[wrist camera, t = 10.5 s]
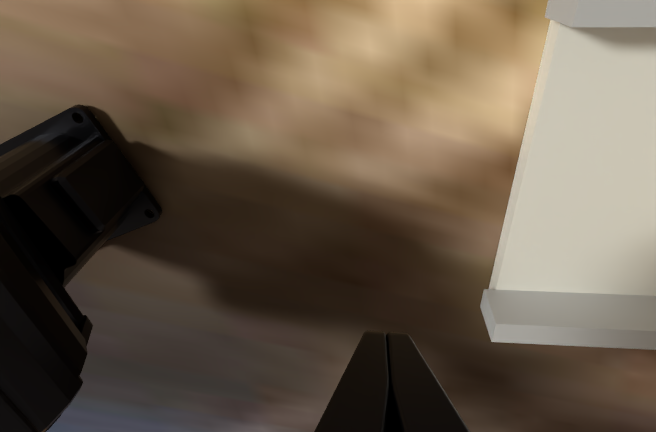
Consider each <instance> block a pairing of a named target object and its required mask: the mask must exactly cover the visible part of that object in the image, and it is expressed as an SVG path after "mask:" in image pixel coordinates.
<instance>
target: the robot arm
mask: <svg viewBox="0 0 656 432" xmlns="http://www.w3.org/2000/svg"><path fill="white" fill-rule="evenodd" d="M77 113H79V114H80V115H81V116H82V117H83V120H81V119H79V118H78V116H77ZM148 209H149V210H152V211H153V212H154V214H152V213H150V212H149V211H148ZM161 214H162V209H161V207H160V206H159V204H158V203H157V201H156V200H155V199H154V197H153V196H152V195H151V193H150V192H149V190H148V189H147V188H146V186H145V185H144V183H143V181H142V180H141V179H140V177H139V176H138V175H137V173H136V172H135V170H134V169H133V168H132V166H131V165H130V164H129V162H128V161H127V159H126V158H125V157H124V155H123V154H122V153H121V151H120V150H119V149H118V147H117V146H116V144H115V143H114V142H113V141H112V140H111V138H110V137H109V136H108V134H107V133H106V132H105V130H104V129H103V128H102V126H101V125H100V123H99V122H98V121H97V119H96V118H95V117H94V115H93V114H92V112H91V111H90V110H89V109H88V108H87V107H85V106H83V105H75V106H73V107H71V108H69V109H67V110H65V111H63V112H62V113H60V114H58V115H56V116H54V117H52V118H50V119H48V120H46V121H44V122H42V123H41V124H39V125H37V126H35V127H33V128H31V129H29V130H27V131H25V132H23V133H21V134H20V135H18V136H16V137H14V138H12V139H10V140H8V141H6V142H4V143H2V144H0V432H46V431H47V430H48V429H49V428H50V427H51V426H52V425H53V424H54V423H55V421H56V420H57V419H58V418H59V417H60V416H61V414H62V412H63V411H64V410H65V409H66V408H67V407H68V406H69V405H70V403H71V402H72V400H73V399H74V398H75V396H76V395H77V393H78V392H79V390H80V388H81V386H82V383H83V381H82V379H81V377H80V376H79V375H80V373H81V371H82V368H83V365H84V362H85V359H86V356H87V348H86V346H87V343H88V340H89V337H90V333H91V330H92V327H93V325H92V323H91V322H90V320H89V319H88V317H87V316H86V315H82V313H81V312H80V310H79V309H78V307H77V306H76V304H75V303H74V302H73V300H72V299H71V297H70V296H69V294H68V293H67V291H66V290H65V288H64V287H65V286H66V285H67V284H68V283H69V282H70V281H71V279H72V278H73V277H74V276H75V275H76V274H77V273H78V272H79V271H80V269H81V268H82V267H83V266H84V265H85V264H86V263H87V262H88V261H89V259H90V258H91V257H92V256H93V255H94V254H95V253H96V252H97V250H98V249H99V248H100V247H101V246H102V245H103V244H104V243H105V242H106V241H107V240H110V239H112V238H115V237H117V236H120V235H122V234H125V233H127V232H130V231H132V230H135V229H137V228H140V227H142V226H145V225H147V224H150V223H152V222H155V221H156V220H158V219H159V217H160V216H161ZM314 432H470V431H469V429H468V428H467V426H466V425H465V423H464V421H463V420H462V418H461V417H460V415H459V413H458V412H457V410H456V409H455V407H454V405H453V404H452V402H451V401H450V399H449V397H448V396H447V394H446V393H445V391H444V389H443V388H442V386H441V385H440V383H439V381H438V380H437V378H436V377H435V375H434V374H433V372H432V370H431V369H430V367H429V366H428V364H427V362H426V361H425V359H424V358H423V356H422V354H421V353H420V351H419V350H418V348H417V346H416V345H415V343H414V342H413V340H412V338H411V337H410V335H409V334H407V333H405V332H388V333H387V335H386V333H385V332H383V331H366V332H365V333H364V334H363V336H362V338H361V340H360V342H359V344H358V346H357V348H356V350H355V352H354V354H353V356H352V358H351V360H350V362H349V364H348V366H347V368H346V370H345V372H344V374H343V376H342V378H341V380H340V382H339V384H338V386H337V388H336V390H335V392H334V394H333V396H332V398H331V400H330V402H329V404H328V406H327V408H326V410H325V412H324V414H323V416H322V418H321V420H320V422H319V424H318V426H317V427H316V429H315V431H314Z"/></svg>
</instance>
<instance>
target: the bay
mask: <svg viewBox="0 0 656 432" xmlns="http://www.w3.org/2000/svg"><path fill="white" fill-rule="evenodd" d="M545 17H546V18H548V19H551V20H550V24H549V28H548V33H547V37H546V41H545V46H544V50H543V54H542V59H541V63H540V67H539V72H538V76H537V80H536V85H535V89H534V93H533V98H532V102H531V106H530V111H529V115H528V120H527V124H526V128H525V133H524V137H523V141H522V146H521V150H520V154H519V159H518V163H517V167H516V172H515V176H514V180H513V185H512V189H511V193H510V198H509V202H508V207H507V211H506V215H505V220H504V224H503V228H502V233H501V237H500V241H499V246H498V250H497V254H496V259H495V263H494V267H493V272H492V276H491V280H490V285H489V289H484V292H483V296H482V301H481V305H480V307H481V310H482V314H483V317H484V320H485V323H486V326H487V329H488V332H489V336H490V339H491V342H504V343H525V344H546V345H567V346H587V347H608V348H629V349H650V350H656V0H548V5H547V9H546V14H545Z"/></svg>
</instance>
